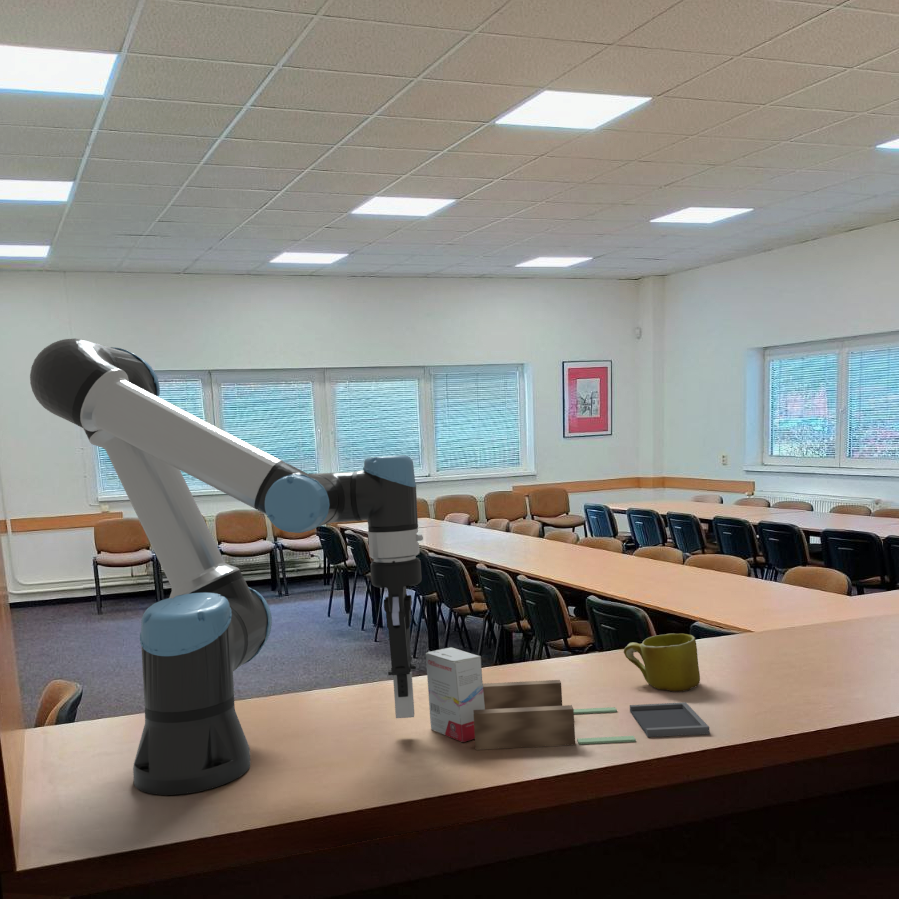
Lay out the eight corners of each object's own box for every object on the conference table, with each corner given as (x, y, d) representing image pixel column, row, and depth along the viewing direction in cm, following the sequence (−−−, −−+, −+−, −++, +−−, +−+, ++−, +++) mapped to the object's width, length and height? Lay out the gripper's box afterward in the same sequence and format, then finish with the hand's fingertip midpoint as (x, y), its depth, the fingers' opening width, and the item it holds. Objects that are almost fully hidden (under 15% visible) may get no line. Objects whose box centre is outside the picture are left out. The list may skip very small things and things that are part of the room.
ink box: (488, 736, 118) (484, 655, 118) (459, 744, 115) (455, 661, 115) (455, 721, 125) (451, 645, 125) (428, 729, 122) (424, 651, 122)
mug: (715, 668, 140) (696, 618, 139) (701, 702, 132) (680, 649, 131) (651, 674, 147) (632, 626, 146) (633, 706, 139) (613, 656, 138)
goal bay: (578, 744, 112) (578, 742, 112) (564, 711, 127) (564, 709, 127) (635, 741, 112) (635, 739, 112) (615, 709, 127) (614, 707, 127)
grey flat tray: (647, 737, 114) (647, 729, 114) (629, 711, 125) (629, 705, 125) (709, 734, 114) (709, 726, 114) (686, 708, 125) (685, 702, 125)
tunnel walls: (475, 749, 112) (473, 713, 112) (473, 715, 127) (471, 684, 127) (575, 744, 112) (573, 709, 112) (561, 711, 127) (559, 679, 127)
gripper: (418, 562, 114) (428, 729, 113) (422, 552, 127) (431, 701, 126) (365, 565, 114) (375, 732, 113) (374, 555, 127) (384, 704, 126)
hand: (405, 716), depth 120 cm, fingers closed
